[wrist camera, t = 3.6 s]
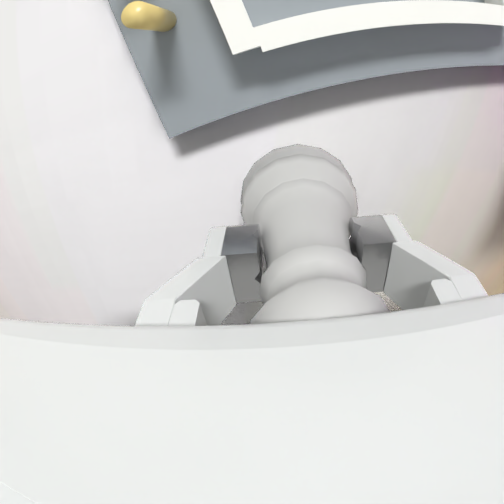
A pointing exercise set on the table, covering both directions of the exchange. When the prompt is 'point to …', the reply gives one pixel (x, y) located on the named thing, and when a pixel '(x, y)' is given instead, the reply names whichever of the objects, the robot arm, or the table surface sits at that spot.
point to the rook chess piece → (306, 237)
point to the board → (293, 47)
